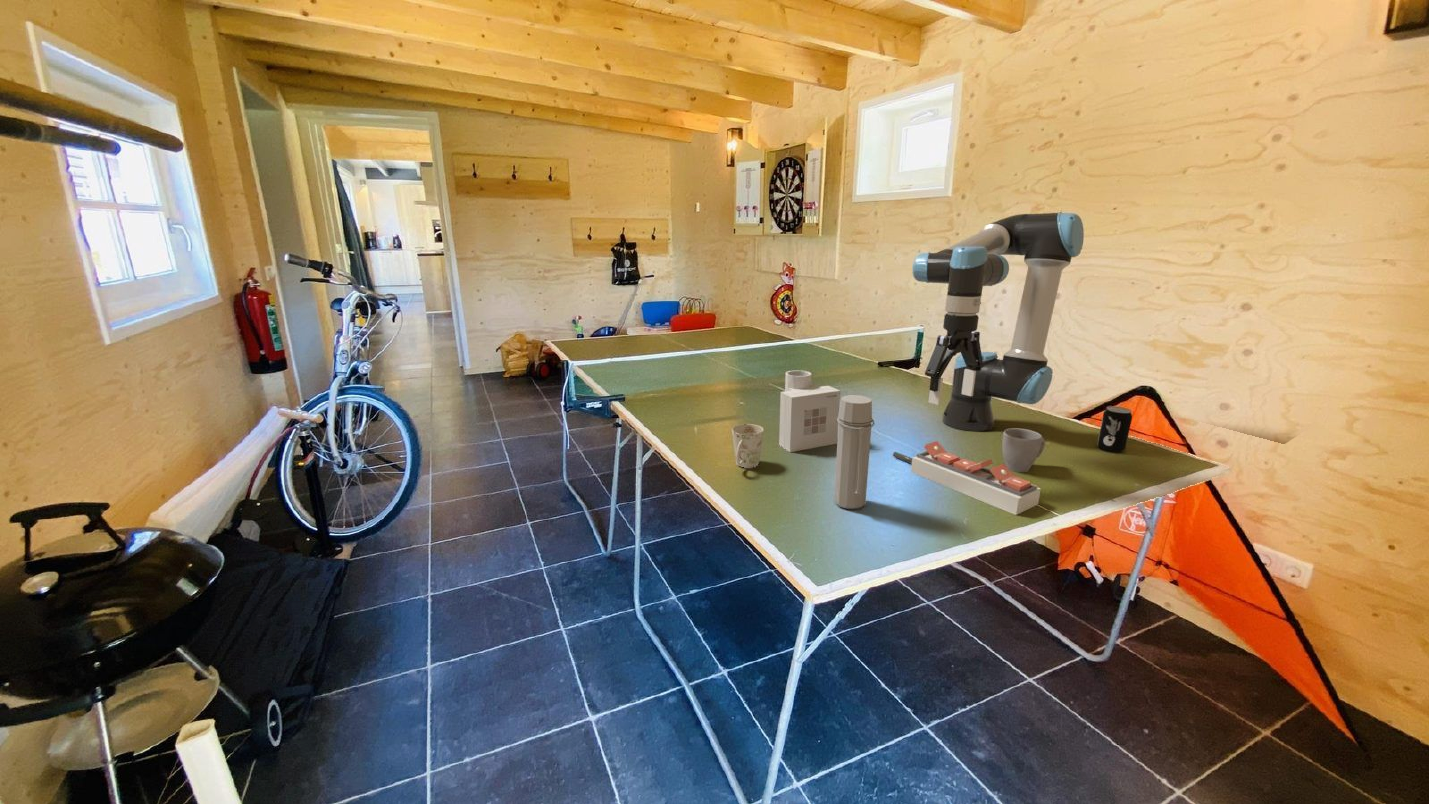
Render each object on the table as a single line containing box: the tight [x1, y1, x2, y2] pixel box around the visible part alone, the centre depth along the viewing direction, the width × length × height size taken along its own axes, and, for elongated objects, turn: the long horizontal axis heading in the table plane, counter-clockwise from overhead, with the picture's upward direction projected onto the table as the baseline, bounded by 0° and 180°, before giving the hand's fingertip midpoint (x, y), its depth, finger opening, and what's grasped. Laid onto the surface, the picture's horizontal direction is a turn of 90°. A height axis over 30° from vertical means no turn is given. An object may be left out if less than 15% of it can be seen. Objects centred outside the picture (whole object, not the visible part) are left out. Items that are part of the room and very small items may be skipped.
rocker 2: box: [989, 462, 1032, 492], centre depth 127 cm, size 8×5×2 cm, turn 34°
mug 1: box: [731, 423, 765, 469], centre depth 147 cm, size 8×13×10 cm, turn 161°
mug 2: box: [1001, 427, 1046, 473], centre depth 146 cm, size 12×9×10 cm
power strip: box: [892, 450, 1041, 516], centre depth 139 cm, size 37×9×5 cm, turn 33°
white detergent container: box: [778, 369, 841, 453], centre depth 167 cm, size 16×19×20 cm
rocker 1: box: [923, 440, 961, 465], centre depth 142 cm, size 8×5×2 cm, turn 34°
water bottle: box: [833, 394, 875, 510], centre depth 124 cm, size 9×8×25 cm
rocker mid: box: [953, 458, 994, 473], centre depth 135 cm, size 8×5×2 cm, turn 33°
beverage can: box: [1096, 405, 1133, 454], centre depth 157 cm, size 7×7×12 cm
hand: (951, 399), depth 139 cm, fingers open, 13 cm apart
